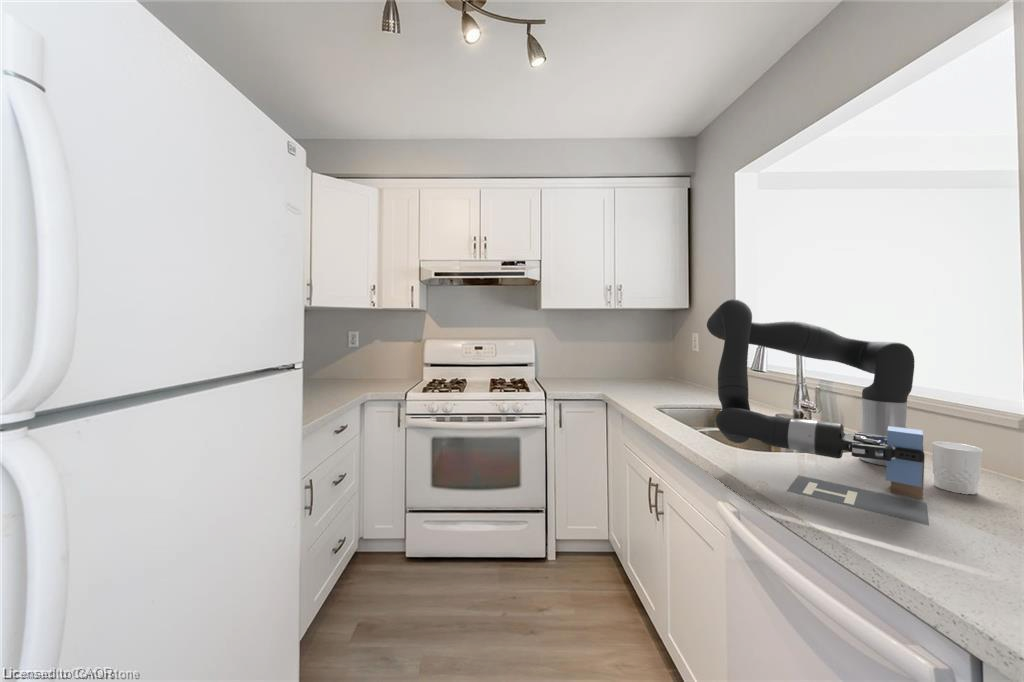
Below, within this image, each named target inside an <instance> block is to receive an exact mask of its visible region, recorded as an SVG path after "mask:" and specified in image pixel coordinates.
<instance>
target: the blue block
mask: <svg viewBox="0 0 1024 682" xmlns="http://www.w3.org/2000/svg"><path fill="white" fill-rule="evenodd" d="M887 445H893V446H896V449H897V447H902V448H909V449H916V450H922V451H923V450H924V431H923V429H917V428H916V429H915V428H914V429H913V428H907V427H906V428H900V427H892V426H888V430H887ZM922 463H923V462H915V461H909V460H902V459H897V457H896V459H894V460H892V459H891V461H887V466H885V467H886V469H885V470H886V471H885V473H886V474H885V475H886V476H885V478H886V479H885V480H886V481H888V482H891V481H892V482H898V483H903V484H908V485H913V486H919V487H922Z"/></svg>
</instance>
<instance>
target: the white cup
mask: <svg viewBox="0 0 1024 682" xmlns="http://www.w3.org/2000/svg"><path fill="white" fill-rule="evenodd" d="M931 452H932V453H931V455H932V457H931V458H932V459H931V460H932V461H931V462H932V474H933V484H934V487H936V488H938V489H940V490H944V491H948V492H950V491H951V492H950V493H956V494H960V493H961V494H962V495H968V494H972V495H971V496H973V495H977V494H978V490H979V488H978V487H979V481H980V477H981V476H980V475H981V471H982V462H983V453H984V449H982V448H981V447H978V446H973V445H969V444H965V443H960V442H959V443H958V442H953V441H952V442H951V441H942V440H941V441H938V440H937V441H932V442H931Z"/></svg>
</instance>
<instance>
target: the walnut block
mask: <svg viewBox="0 0 1024 682" xmlns="http://www.w3.org/2000/svg"><path fill="white" fill-rule="evenodd" d="M923 452H924V461H923V463H922V487H919V486H913V485H908V484H903V483H898V482H892V481H890V493H893V494H898V495H903V496H909V497H912V498H916V499H917V498H918V499H924V480H925V479H924V477H925V459H926V457H925V456H926V455H925V450H924V449H923Z"/></svg>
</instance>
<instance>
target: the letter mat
mask: <svg viewBox="0 0 1024 682" xmlns="http://www.w3.org/2000/svg"><path fill="white" fill-rule="evenodd" d="M786 492H789V493H793V494H797V495H801V496H803V497H805V496H806V497H809V498H812V499H813V498H814V499H817V500H821V501H826V502H830V503H834V504H838V505H842V506H846V507H850V508H854V509H858V510H864V511H867V512H871V513H874V514H879V515H884V516H887V517H892V518H896V519H900V520H904V521H909V522H912V523H917V524H921V525H925V526H930V518H929V512H928V503H927V502H924V501H920V500H915V499H910V498H906V497H900V496H898V495H897V496H896V495H891V494H886V493H884V492H883V493H881V492H878V491H872V490H868V489H863V488H859V487H854V486H849V485H846V484H845V485H844V484H841V483H835V482H833V481H832V482H831V481H827V480H826V481H825V480H822V479H816V478H813V477H808V476H803V475H797V476H796V478H795V479H794V480H793V482H792V483H791V484H790V486H789V487H788V488H787V489H786Z"/></svg>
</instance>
